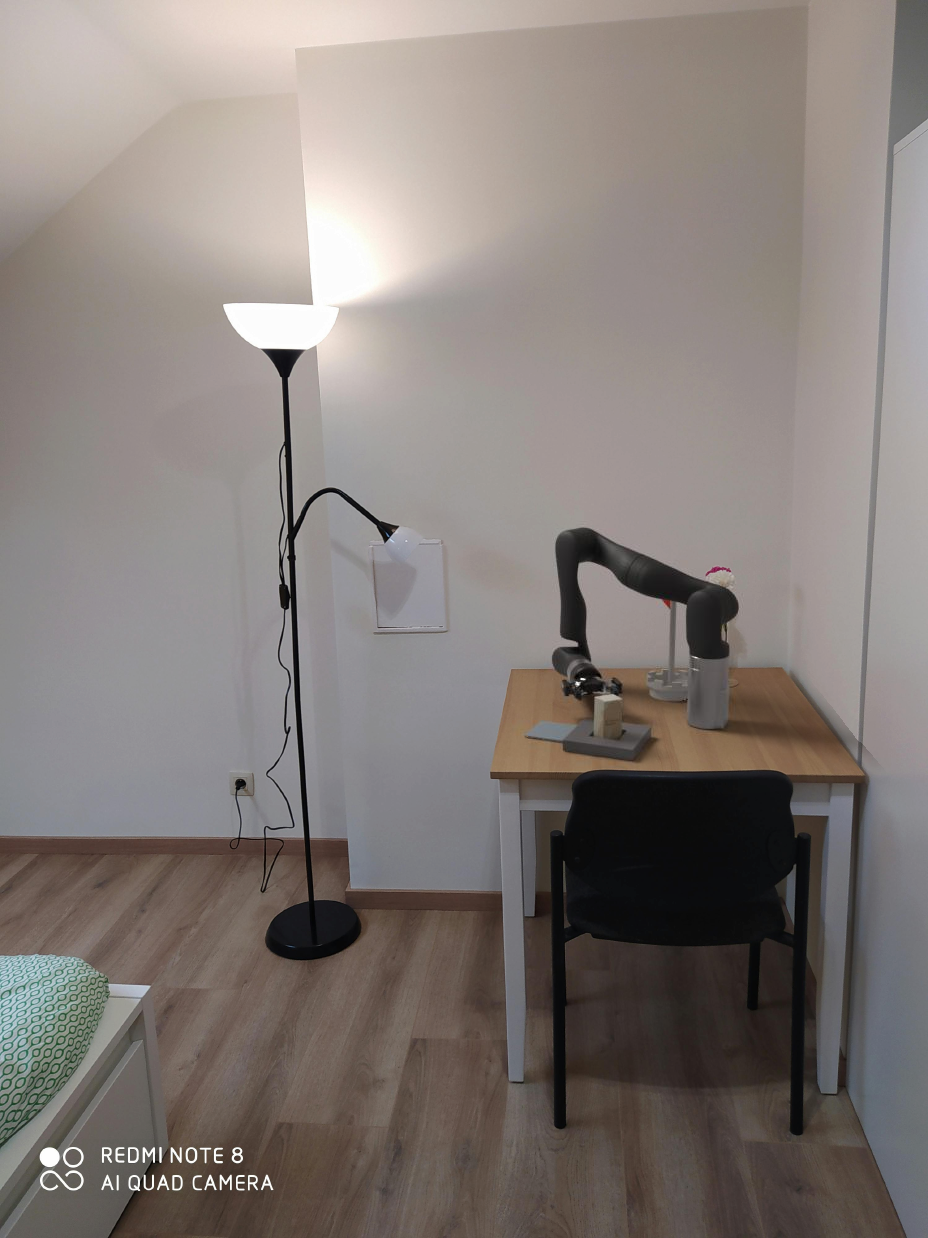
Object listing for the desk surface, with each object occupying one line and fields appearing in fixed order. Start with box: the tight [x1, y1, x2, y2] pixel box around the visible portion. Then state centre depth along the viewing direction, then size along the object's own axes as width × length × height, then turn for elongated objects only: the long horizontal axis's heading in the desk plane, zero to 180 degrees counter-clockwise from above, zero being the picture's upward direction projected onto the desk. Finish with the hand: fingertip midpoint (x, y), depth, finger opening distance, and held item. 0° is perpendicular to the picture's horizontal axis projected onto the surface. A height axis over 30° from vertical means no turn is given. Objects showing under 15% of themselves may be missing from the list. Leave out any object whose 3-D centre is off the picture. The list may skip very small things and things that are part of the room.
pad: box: [524, 720, 578, 744], centre depth 216 cm, size 10×11×1 cm
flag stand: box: [645, 599, 689, 702], centre depth 239 cm, size 13×13×30 cm
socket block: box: [562, 717, 652, 761], centre depth 208 cm, size 16×16×2 cm
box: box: [593, 694, 624, 740], centre depth 207 cm, size 5×4×11 cm
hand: (597, 695), depth 217 cm, fingers open, 8 cm apart
